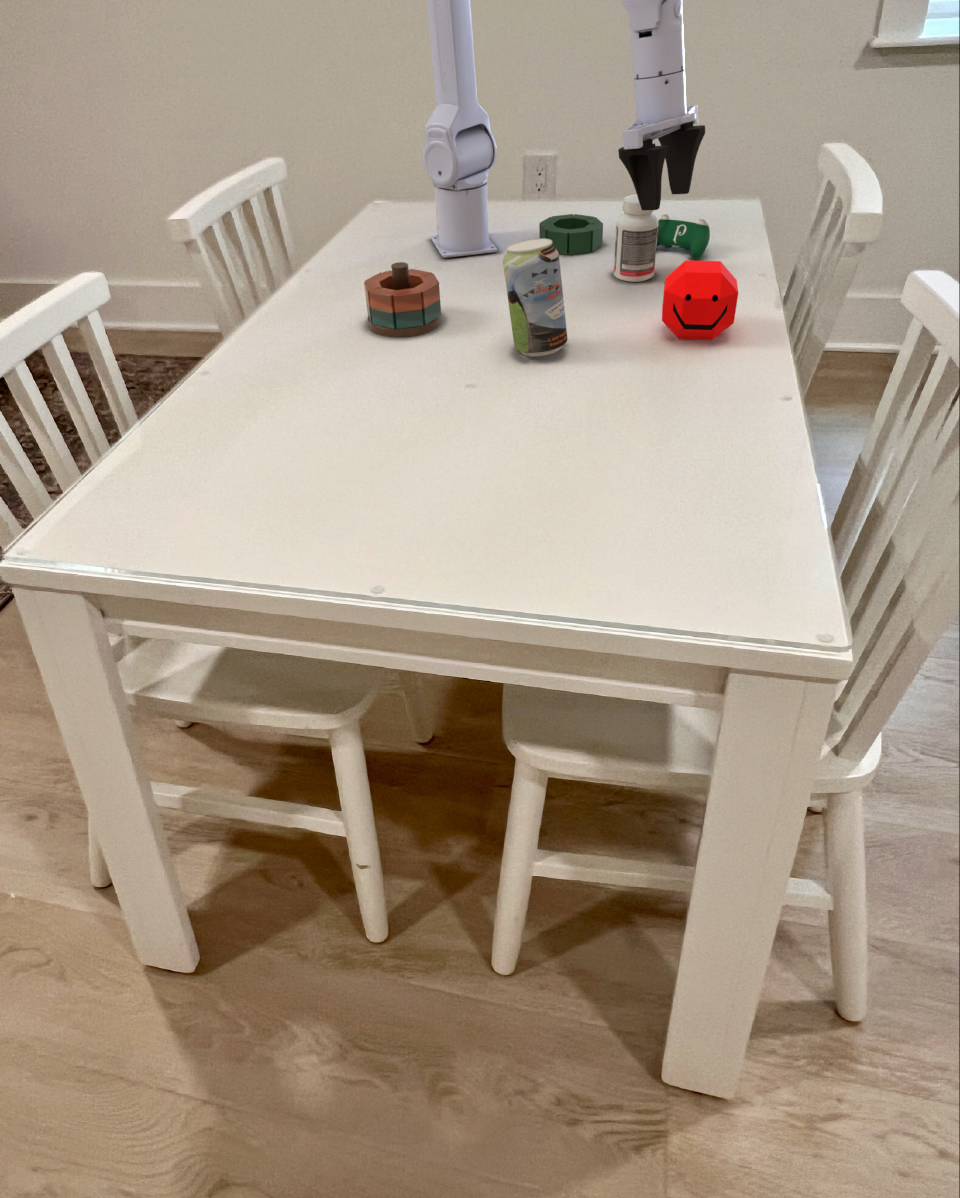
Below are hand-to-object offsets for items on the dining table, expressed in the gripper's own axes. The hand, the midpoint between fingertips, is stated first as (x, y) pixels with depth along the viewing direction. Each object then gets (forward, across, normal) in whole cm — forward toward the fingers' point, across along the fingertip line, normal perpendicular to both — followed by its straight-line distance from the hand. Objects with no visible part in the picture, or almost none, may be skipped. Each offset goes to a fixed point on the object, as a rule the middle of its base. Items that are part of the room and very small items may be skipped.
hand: (665, 201), depth 108 cm
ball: (+12, -11, -9) cm, 19 cm away
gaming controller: (+10, +13, +6) cm, 18 cm away
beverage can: (+10, -25, +4) cm, 27 cm away
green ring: (+7, +8, +20) cm, 23 cm away
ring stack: (+7, -27, +22) cm, 35 cm away
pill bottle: (+10, +2, +6) cm, 12 cm away
